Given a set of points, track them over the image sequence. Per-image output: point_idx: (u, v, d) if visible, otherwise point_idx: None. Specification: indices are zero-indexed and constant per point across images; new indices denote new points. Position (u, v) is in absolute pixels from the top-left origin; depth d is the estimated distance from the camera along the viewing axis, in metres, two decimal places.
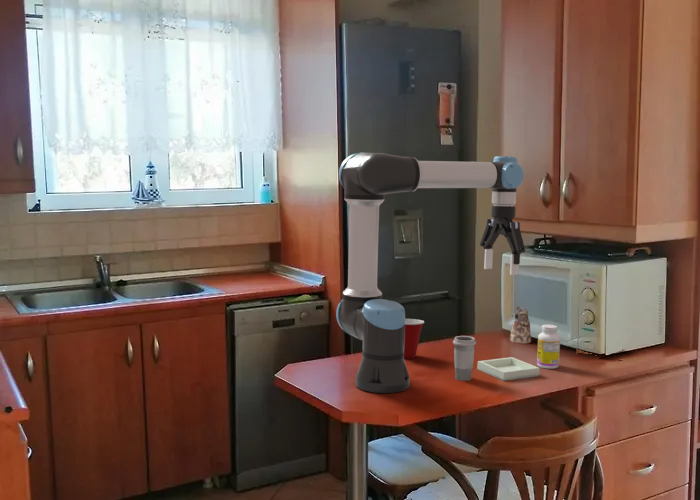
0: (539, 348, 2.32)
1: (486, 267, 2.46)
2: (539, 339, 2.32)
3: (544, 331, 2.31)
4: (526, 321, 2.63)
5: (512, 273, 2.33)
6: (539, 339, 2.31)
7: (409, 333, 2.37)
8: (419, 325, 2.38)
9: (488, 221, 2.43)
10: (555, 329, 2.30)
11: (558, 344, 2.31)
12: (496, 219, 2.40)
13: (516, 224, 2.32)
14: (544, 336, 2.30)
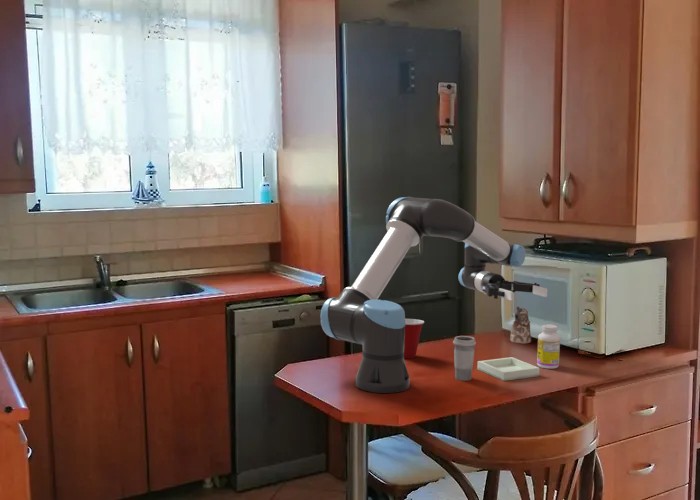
0: (539, 348, 2.32)
1: None
2: (539, 339, 2.32)
3: (544, 331, 2.31)
4: (526, 321, 2.63)
5: None
6: (539, 339, 2.31)
7: (409, 333, 2.37)
8: (419, 325, 2.38)
9: (485, 283, 2.51)
10: (555, 329, 2.30)
11: (558, 344, 2.31)
12: (494, 282, 2.54)
13: None
14: (544, 336, 2.30)
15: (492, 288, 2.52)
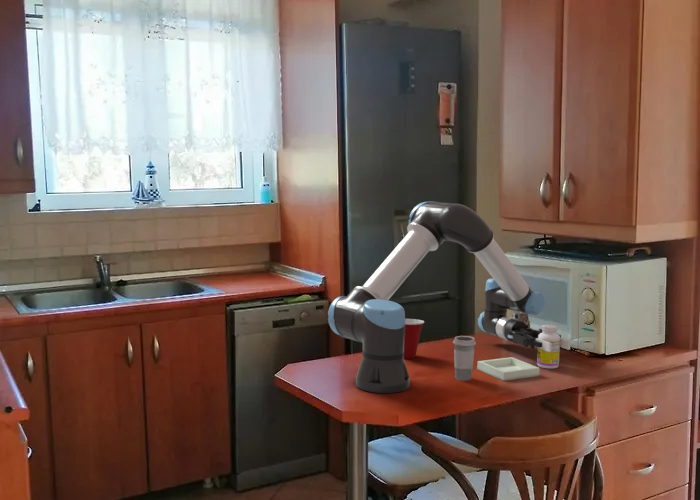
0: None
1: None
2: None
3: (544, 331, 2.31)
4: (526, 321, 2.63)
5: None
6: None
7: (409, 333, 2.37)
8: (419, 325, 2.38)
9: (510, 332, 2.40)
10: (555, 329, 2.30)
11: (558, 344, 2.31)
12: (517, 330, 2.44)
13: None
14: (544, 336, 2.30)
15: None
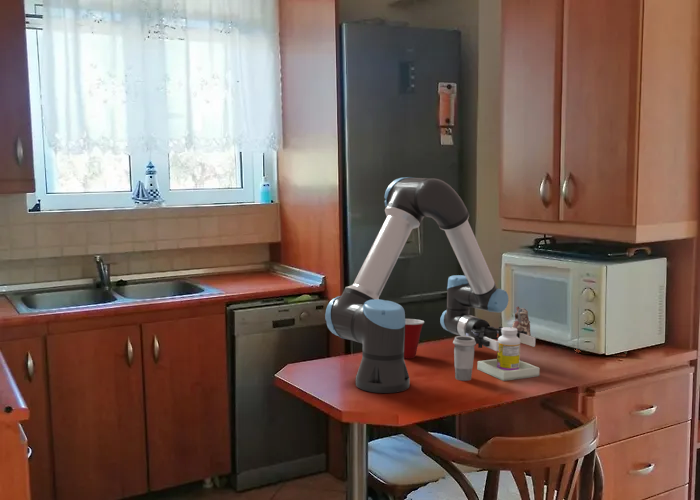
0: (498, 352, 2.24)
1: None
2: None
3: (503, 334, 2.23)
4: (526, 321, 2.63)
5: None
6: (499, 343, 2.24)
7: (409, 333, 2.37)
8: (419, 325, 2.38)
9: (468, 330, 2.33)
10: (515, 332, 2.22)
11: (518, 348, 2.23)
12: (478, 329, 2.36)
13: None
14: (503, 340, 2.22)
15: (476, 335, 2.34)
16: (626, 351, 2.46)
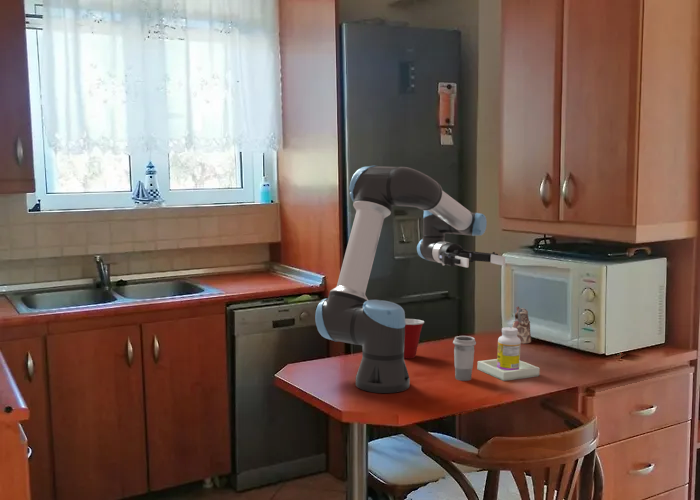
0: (499, 352, 2.24)
1: None
2: (499, 342, 2.24)
3: (504, 334, 2.23)
4: (526, 321, 2.63)
5: None
6: (499, 343, 2.24)
7: (409, 333, 2.37)
8: (419, 325, 2.38)
9: (442, 252, 2.43)
10: (515, 332, 2.22)
11: (518, 348, 2.23)
12: (451, 252, 2.46)
13: None
14: (504, 340, 2.22)
15: (449, 257, 2.44)
16: (620, 353, 2.44)
